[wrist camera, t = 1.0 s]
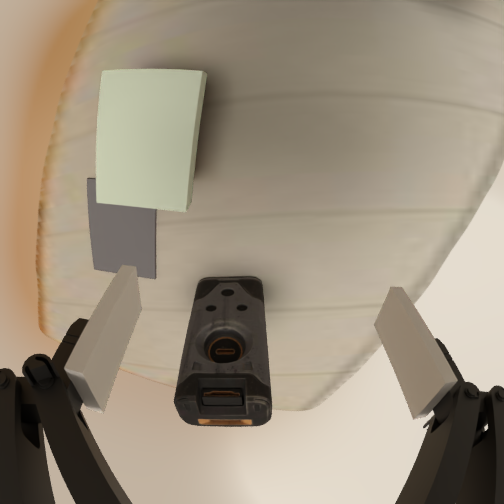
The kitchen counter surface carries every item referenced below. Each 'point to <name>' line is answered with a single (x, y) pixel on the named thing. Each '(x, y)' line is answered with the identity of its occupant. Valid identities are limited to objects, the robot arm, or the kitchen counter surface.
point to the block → (148, 137)
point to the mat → (121, 235)
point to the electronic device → (225, 356)
